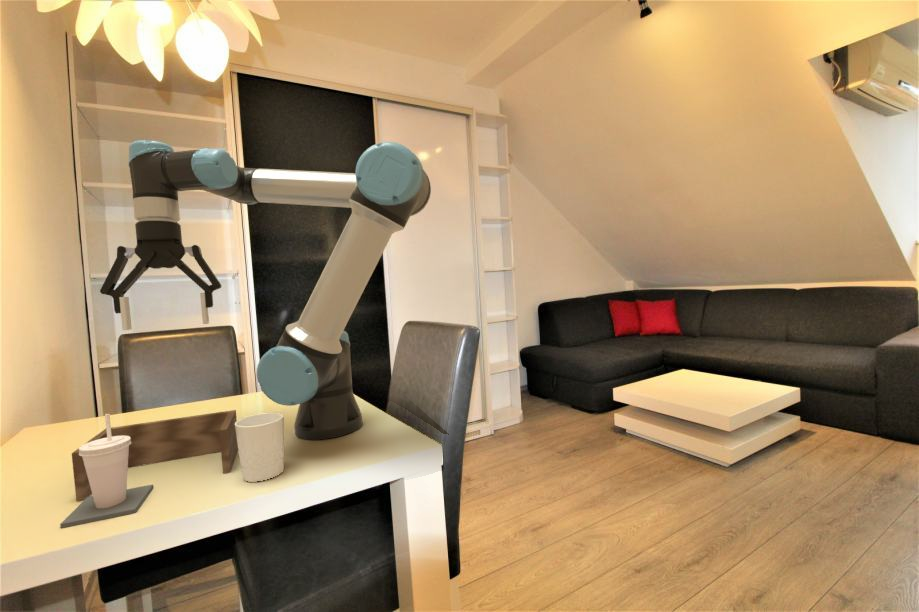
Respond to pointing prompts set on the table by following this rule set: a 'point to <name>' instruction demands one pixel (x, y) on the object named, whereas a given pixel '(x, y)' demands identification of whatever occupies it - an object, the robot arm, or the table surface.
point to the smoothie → (107, 467)
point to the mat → (91, 513)
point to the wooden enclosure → (169, 443)
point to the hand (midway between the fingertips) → (167, 326)
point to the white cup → (261, 446)
